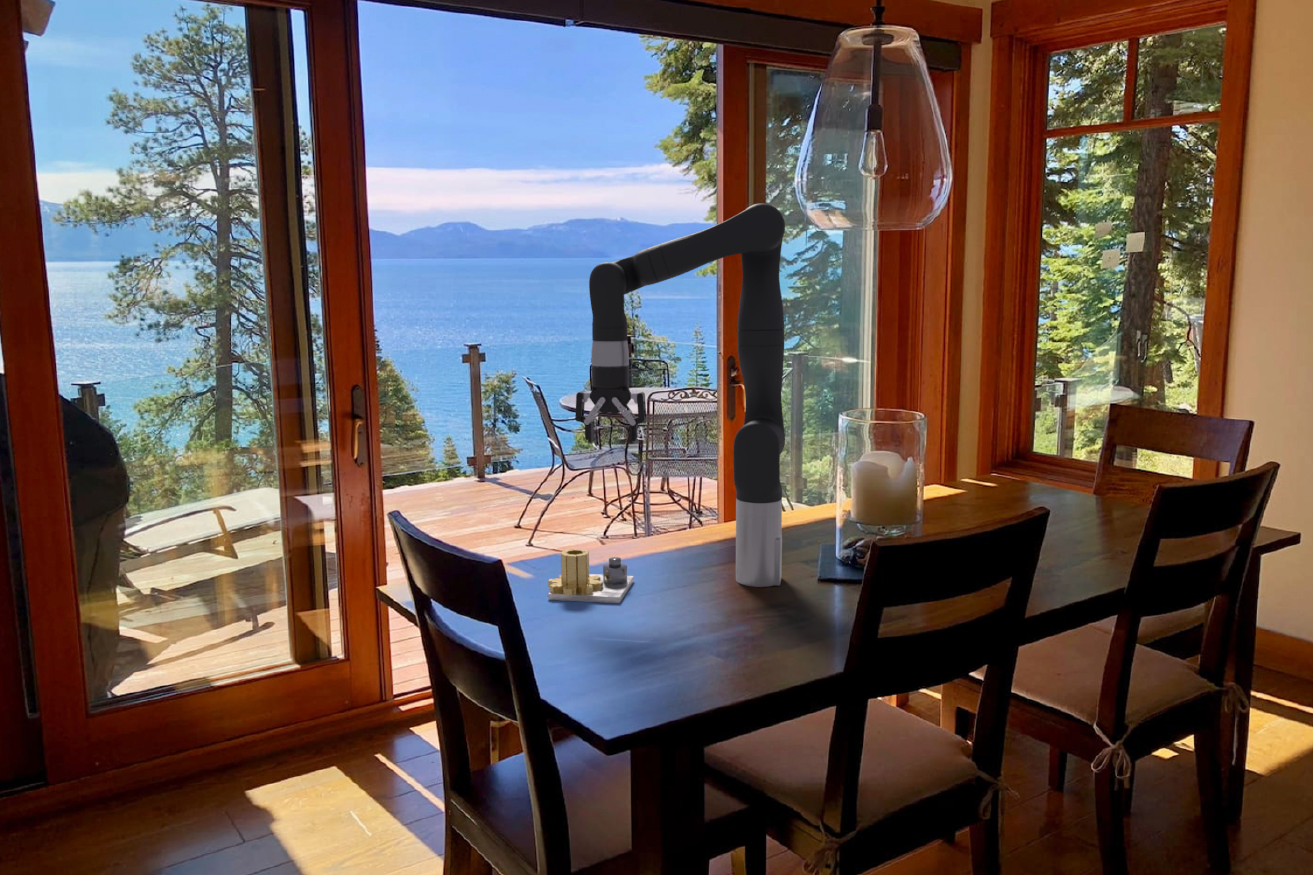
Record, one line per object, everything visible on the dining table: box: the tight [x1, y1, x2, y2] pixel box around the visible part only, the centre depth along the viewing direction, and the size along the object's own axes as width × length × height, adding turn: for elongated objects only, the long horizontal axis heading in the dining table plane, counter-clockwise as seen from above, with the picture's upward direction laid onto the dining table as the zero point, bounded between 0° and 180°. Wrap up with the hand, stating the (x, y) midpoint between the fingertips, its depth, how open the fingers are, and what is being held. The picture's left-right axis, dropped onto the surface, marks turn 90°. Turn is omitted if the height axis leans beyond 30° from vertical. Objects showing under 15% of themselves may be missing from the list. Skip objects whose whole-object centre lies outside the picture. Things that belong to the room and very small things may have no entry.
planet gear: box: [547, 548, 603, 596], centre depth 189 cm, size 11×11×7 cm
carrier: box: [547, 556, 635, 604], centre depth 191 cm, size 14×14×6 cm
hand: (611, 442), depth 197 cm, fingers open, 8 cm apart
